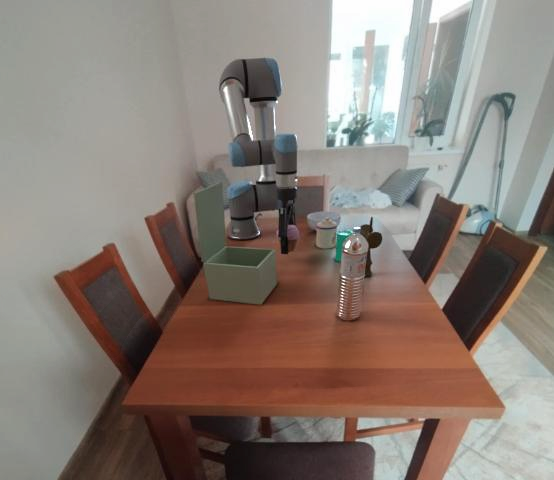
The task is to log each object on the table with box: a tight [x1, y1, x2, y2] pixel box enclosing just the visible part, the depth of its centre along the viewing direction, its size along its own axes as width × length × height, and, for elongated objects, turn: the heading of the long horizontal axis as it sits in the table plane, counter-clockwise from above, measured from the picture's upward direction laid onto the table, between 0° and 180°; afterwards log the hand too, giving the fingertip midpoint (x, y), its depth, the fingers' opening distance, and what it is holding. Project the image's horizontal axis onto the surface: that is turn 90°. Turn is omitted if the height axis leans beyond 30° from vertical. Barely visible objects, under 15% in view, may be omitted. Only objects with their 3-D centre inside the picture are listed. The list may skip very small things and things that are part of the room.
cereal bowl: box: [306, 210, 342, 232], centre depth 164 cm, size 17×17×7 cm
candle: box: [334, 229, 353, 263], centre depth 130 cm, size 6×6×12 cm
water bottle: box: [336, 226, 369, 322], centre depth 90 cm, size 7×7×25 cm
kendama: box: [359, 216, 383, 278], centre depth 114 cm, size 6×10×20 cm, turn 10°
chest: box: [202, 245, 278, 306], centre depth 111 cm, size 19×17×12 cm
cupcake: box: [276, 225, 300, 253], centre depth 129 cm, size 9×9×10 cm
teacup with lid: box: [315, 218, 338, 250], centre depth 145 cm, size 12×9×12 cm
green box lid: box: [193, 181, 227, 263], centre depth 103 cm, size 20×17×1 cm
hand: (288, 249), depth 132 cm, fingers closed on cupcake, 9 cm apart
